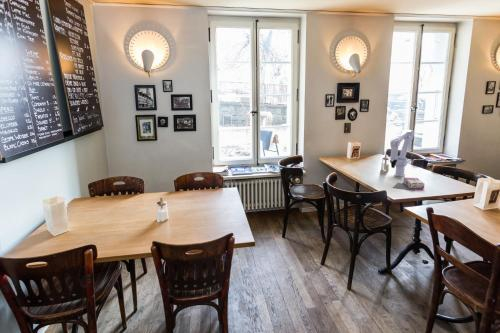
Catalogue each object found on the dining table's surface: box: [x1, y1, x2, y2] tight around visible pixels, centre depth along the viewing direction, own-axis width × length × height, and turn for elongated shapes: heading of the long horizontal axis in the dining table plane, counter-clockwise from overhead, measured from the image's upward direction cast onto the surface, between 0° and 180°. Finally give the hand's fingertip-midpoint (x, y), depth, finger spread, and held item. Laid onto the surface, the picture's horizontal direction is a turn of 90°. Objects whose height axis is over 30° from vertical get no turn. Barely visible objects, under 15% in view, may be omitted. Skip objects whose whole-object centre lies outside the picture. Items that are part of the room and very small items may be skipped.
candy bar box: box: [402, 177, 425, 190], centre depth 266 cm, size 11×5×16 cm
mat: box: [392, 182, 416, 192], centre depth 267 cm, size 16×16×1 cm
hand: (393, 167), depth 288 cm, fingers closed
